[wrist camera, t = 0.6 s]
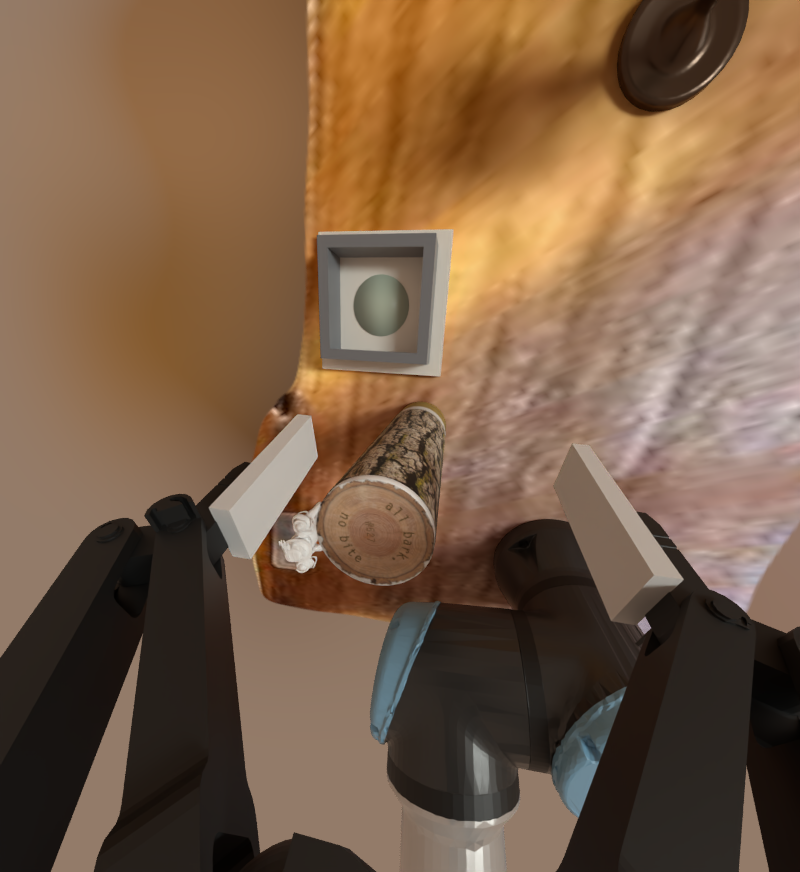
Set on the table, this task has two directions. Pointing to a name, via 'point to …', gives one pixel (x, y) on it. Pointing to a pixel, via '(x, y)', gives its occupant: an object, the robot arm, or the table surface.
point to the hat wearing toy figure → (303, 540)
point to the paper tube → (388, 502)
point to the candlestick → (677, 49)
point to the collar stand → (383, 300)
